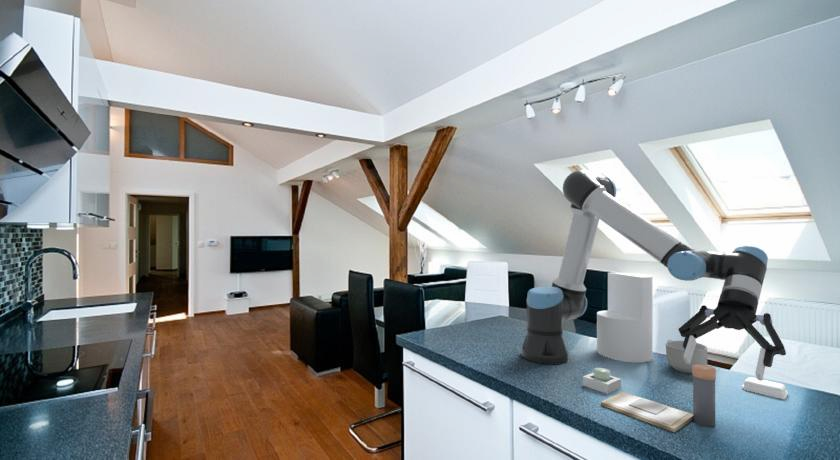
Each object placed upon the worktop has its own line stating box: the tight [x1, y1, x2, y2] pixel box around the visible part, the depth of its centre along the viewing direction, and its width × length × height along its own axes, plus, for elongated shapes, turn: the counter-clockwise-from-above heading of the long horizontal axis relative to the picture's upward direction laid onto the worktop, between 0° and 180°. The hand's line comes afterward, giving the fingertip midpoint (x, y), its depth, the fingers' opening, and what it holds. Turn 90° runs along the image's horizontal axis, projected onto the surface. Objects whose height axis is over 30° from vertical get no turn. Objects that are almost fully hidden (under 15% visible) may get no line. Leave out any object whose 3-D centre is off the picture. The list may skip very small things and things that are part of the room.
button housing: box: [582, 371, 622, 395], centre depth 105 cm, size 7×7×2 cm
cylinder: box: [596, 272, 654, 364], centre depth 135 cm, size 17×17×28 cm
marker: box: [691, 364, 717, 428], centre depth 86 cm, size 4×4×12 cm
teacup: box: [664, 338, 708, 374], centre depth 121 cm, size 14×11×8 cm
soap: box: [741, 376, 789, 400], centre depth 103 cm, size 9×7×3 cm
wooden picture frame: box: [600, 391, 693, 433], centre depth 91 cm, size 16×11×1 cm
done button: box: [593, 367, 611, 382], centre depth 105 cm, size 4×4×3 cm
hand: (720, 368), depth 89 cm, fingers open, 13 cm apart
